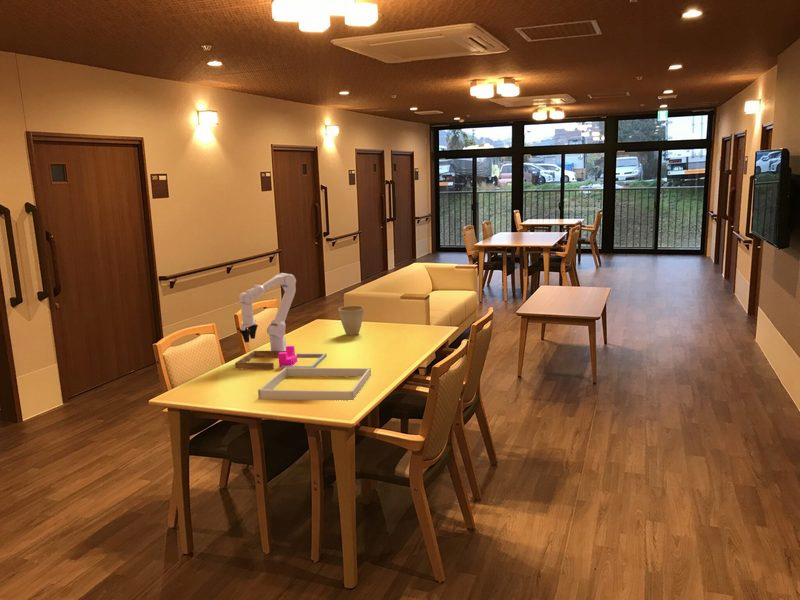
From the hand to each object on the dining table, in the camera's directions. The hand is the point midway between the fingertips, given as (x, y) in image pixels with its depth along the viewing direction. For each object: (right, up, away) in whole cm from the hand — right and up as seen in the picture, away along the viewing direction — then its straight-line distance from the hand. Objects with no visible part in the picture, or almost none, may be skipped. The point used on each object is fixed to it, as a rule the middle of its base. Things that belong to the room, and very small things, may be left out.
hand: (249, 340), depth 336 cm
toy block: (+23, -12, -8) cm, 27 cm away
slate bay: (+30, -11, -9) cm, 33 cm away
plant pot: (+51, +1, +46) cm, 69 cm away
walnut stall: (+8, -11, -4) cm, 14 cm away
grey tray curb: (+42, -18, -49) cm, 67 cm away
